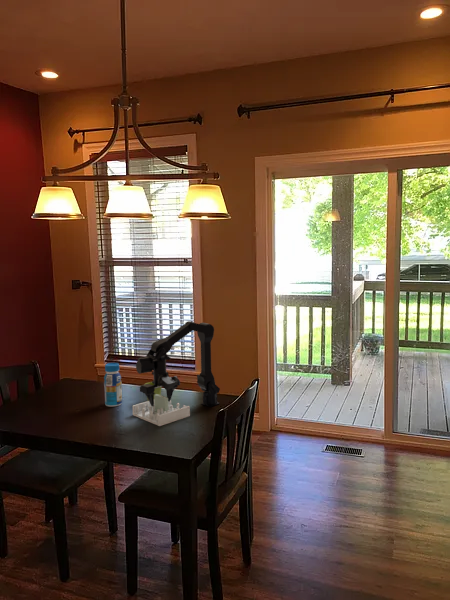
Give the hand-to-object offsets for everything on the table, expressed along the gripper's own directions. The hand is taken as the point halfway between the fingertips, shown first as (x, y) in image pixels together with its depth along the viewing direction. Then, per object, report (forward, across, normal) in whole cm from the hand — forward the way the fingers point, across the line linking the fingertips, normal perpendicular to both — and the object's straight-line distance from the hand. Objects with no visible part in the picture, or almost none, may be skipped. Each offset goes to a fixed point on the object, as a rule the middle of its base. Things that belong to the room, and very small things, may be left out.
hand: (160, 403), depth 215 cm
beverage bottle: (+6, -6, +30) cm, 31 cm away
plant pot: (+6, +10, +19) cm, 22 cm away
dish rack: (+6, 0, 0) cm, 6 cm away
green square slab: (+4, 0, 0) cm, 5 cm away
